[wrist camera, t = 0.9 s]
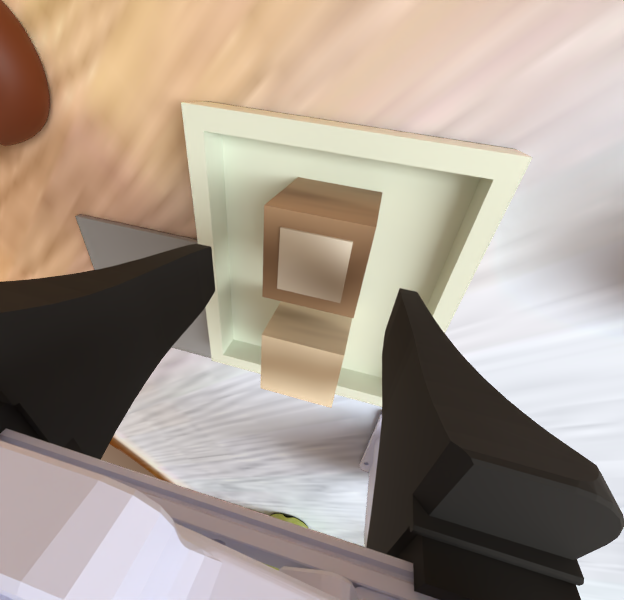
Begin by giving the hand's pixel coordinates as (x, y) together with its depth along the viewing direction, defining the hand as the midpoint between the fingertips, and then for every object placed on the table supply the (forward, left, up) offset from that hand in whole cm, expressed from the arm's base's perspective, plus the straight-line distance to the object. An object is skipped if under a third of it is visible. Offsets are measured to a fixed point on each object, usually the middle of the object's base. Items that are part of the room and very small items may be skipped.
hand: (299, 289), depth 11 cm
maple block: (-7, 0, -7) cm, 10 cm away
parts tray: (-4, 0, -7) cm, 8 cm away
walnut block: (0, 0, -7) cm, 7 cm away
